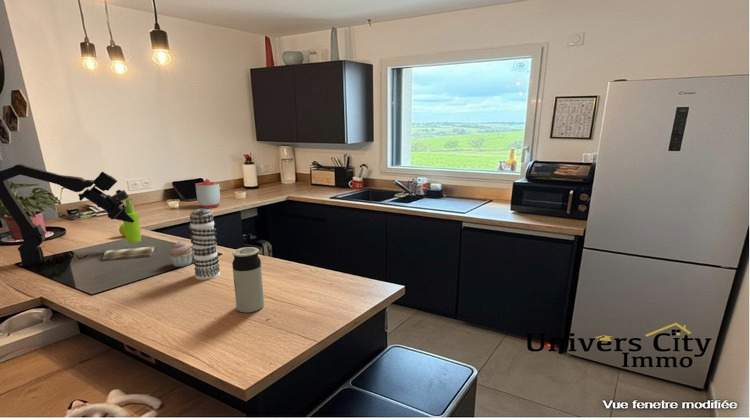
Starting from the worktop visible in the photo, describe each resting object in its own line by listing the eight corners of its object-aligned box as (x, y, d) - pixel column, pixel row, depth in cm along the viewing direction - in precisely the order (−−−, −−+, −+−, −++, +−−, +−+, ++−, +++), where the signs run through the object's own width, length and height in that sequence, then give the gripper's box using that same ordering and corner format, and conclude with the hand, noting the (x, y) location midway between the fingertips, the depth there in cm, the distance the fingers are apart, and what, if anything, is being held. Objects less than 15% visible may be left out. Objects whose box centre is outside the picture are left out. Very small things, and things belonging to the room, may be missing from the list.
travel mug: (266, 301, 119) (262, 246, 115) (260, 313, 111) (255, 255, 107) (241, 301, 119) (236, 247, 115) (233, 313, 111) (227, 255, 107)
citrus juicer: (228, 205, 272) (225, 178, 267) (206, 210, 257) (203, 180, 253) (214, 203, 280) (212, 176, 276) (192, 207, 265) (189, 179, 261)
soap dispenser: (121, 242, 172) (115, 198, 167) (137, 238, 177) (132, 196, 173) (127, 244, 168) (121, 200, 164) (143, 240, 174) (138, 198, 170)
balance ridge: (102, 260, 158) (101, 255, 157) (111, 253, 167) (110, 248, 167) (150, 256, 163) (149, 251, 162) (156, 249, 172) (155, 244, 172)
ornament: (139, 234, 198) (137, 216, 196) (129, 238, 191) (126, 219, 189) (127, 234, 198) (124, 215, 196) (116, 238, 192) (113, 219, 189)
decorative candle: (195, 272, 143) (187, 208, 138) (221, 269, 147) (214, 206, 141) (193, 281, 135) (184, 213, 130) (221, 277, 138) (214, 211, 133)
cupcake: (200, 261, 156) (198, 238, 154) (183, 269, 147) (180, 245, 145) (182, 259, 158) (179, 236, 156) (164, 267, 149) (161, 243, 147)
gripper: (113, 187, 158) (147, 210, 166) (114, 182, 173) (145, 203, 181) (93, 208, 155) (128, 230, 163) (96, 201, 171) (128, 221, 179)
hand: (133, 220), depth 172 cm, fingers closed on soap dispenser, 6 cm apart
